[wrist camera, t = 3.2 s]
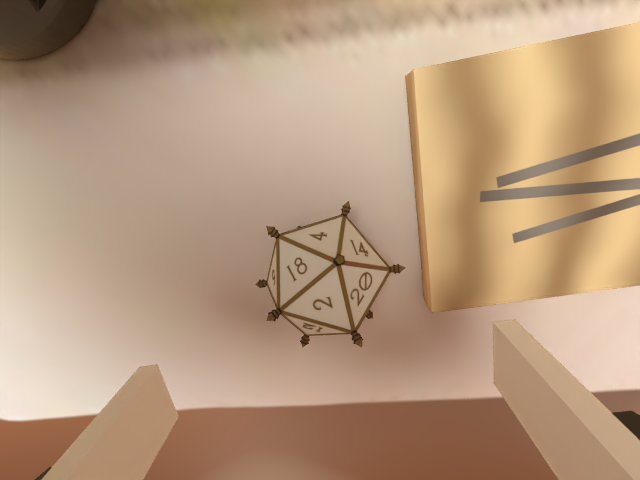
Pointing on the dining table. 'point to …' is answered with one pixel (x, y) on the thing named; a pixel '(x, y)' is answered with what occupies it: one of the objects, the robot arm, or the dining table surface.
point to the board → (528, 170)
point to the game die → (325, 277)
